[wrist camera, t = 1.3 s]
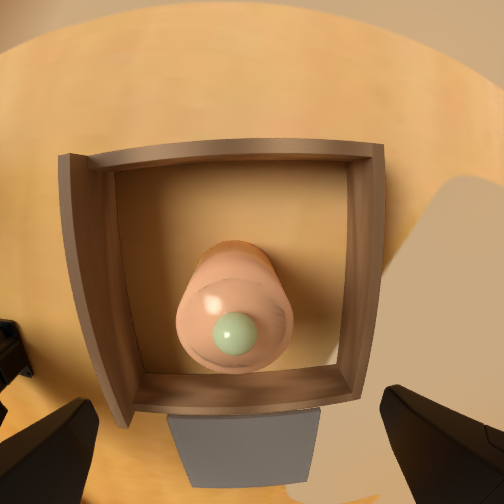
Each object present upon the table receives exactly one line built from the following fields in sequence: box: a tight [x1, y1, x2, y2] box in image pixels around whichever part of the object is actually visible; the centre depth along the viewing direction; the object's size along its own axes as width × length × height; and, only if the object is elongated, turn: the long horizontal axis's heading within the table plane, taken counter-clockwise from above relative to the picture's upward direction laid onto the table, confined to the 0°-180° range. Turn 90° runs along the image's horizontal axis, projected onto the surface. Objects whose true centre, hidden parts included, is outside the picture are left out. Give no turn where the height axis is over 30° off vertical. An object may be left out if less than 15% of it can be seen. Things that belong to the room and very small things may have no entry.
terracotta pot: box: [176, 241, 294, 374], centre depth 15 cm, size 6×6×9 cm
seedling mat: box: [167, 407, 321, 488], centre depth 24 cm, size 14×14×1 cm
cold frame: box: [58, 138, 385, 429], centre depth 17 cm, size 18×18×6 cm
